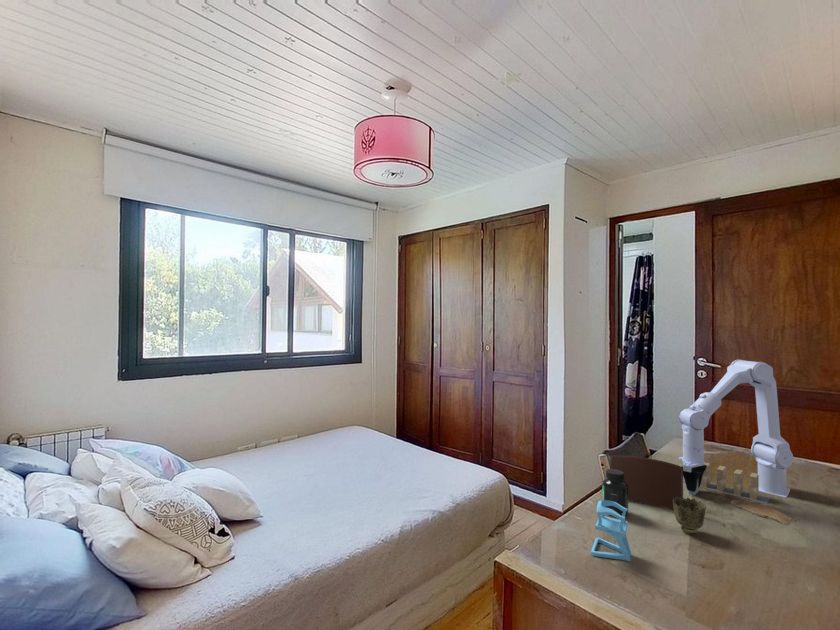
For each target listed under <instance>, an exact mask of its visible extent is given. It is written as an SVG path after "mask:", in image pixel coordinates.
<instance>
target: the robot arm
mask: <svg viewBox="0 0 840 630" xmlns="http://www.w3.org/2000/svg"><path fill="white" fill-rule="evenodd" d="M726 369H727V370H726V373H725V374H724V375H723V376H722V378H721V379H719V381H718V382H717V384H716V385H715V386H714V387H713V388H712V389H711V391H710V392H707V391H706V392H703V393H700V395H699V397H698V399H696V400H695V401H694V402H693V404H690V405H689V408H684V409H683V410H682V411H681V412H680V413H679V416H678V417H677V419H678V422H679V423H680V425H681V430H682V456H678V460H679V461H682V464H683V465H680V467H681V468H682V469H683V477H684V479H685V483H684V484H685V487H686V489H687V491H688V492H689V491H693V492H695V491H696V487H697V481H698V488H701V487H700V485H701V480H702V476H703V473H704V471H705V469H706V468H707V465H705V463H706V461H705V441H704V440H705V439H704V437H705V434H704V433H705V431H704V430H705V428H707V427H708V426H709V423H710V419H711V416H712V415H713V414H714V413H715V412H716V411H717V410H718V409H719V408H720V407H721V406H722V399H723V398H725V396H727V395H728V394H729V393H730V392H731V391H732V390H733V389H735V388H736V387H737V386H738V385H739V384H749V385H750V386H752V387H754V392H755V393H754V394H755V404H756V405H755V406H756V415H757V417H756V418H757V429H758V431H757V432H758V434H756V435H755V436H753V437H752V445H751V446H750V447H751V448H750V452H751V454H752V456H753V457H754V458H755V461H756V462H757V474H759V493H764V494H768V495H773V496H776V497H780V498H784V499H787V498H788V496H789V493H790V491H791V489H790V488H789V487H787V486H788V485H787V469H789V467H790V466H791V465H792V464H793V462H794V455H793V452H792V451H791V448H790V444H789V442H788V441H786V439H784V437H782V435H781V429H780V428H781V427H780V416H779V414H780V413H779V402H778V401H779V399H778V388H777V381H776V378H775V377H774V367H773V366H771V365H769V364H767V362H763V361H750V360H744V359H736V360H733V361H732V362H731V363H730V365H729V366H727V367H726Z"/></svg>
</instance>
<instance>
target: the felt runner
mask: <svg viewBox="0 0 840 630" xmlns="http://www.w3.org/2000/svg"><path fill="white" fill-rule="evenodd" d="M683 484H686V483H685V479H684V477H683ZM699 488H703V489H708V490H711V491H715V492H719V493H723V494H727V495H731V496H735V497H738V498H742V499H746V500H750V501H752V502H757V503H760V504H764V505H767V504H768V503H769V501H770V499H771V496H767V495H763V494H760V493H759V496H758V498H757V500H753V499H750V491H747V490H743V493H742V494H741V496H737V495H734V487H730V486H727V485H726V489H725V490H724V491H723V492H721V491H718V490H717V483H714V482H711V481H710V484H709V486H708V487H707V488H706V487H702V486H701V485H700V487H699Z"/></svg>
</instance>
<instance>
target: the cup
mask: <svg viewBox="0 0 840 630" xmlns="http://www.w3.org/2000/svg"><path fill="white" fill-rule="evenodd" d="M673 506H674V509H673V512H674V517H675V520H676V522H677V523H678V524H679V525H680V528H681V531H682V532H683V533H684V534H687V535H690V536H695V535H697V533H698V529H701V528H702V527H703V525H704V522H705V519H706V518H705V517H706V510H707V507H706V506H707V505H706V504H705V503H702V502H701V501H698V500H696V499H695V498H690V497H686V499H683V500H682V499H681V497H679V498H678V497H677V496H676V497H675V499H674V498H673Z"/></svg>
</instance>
